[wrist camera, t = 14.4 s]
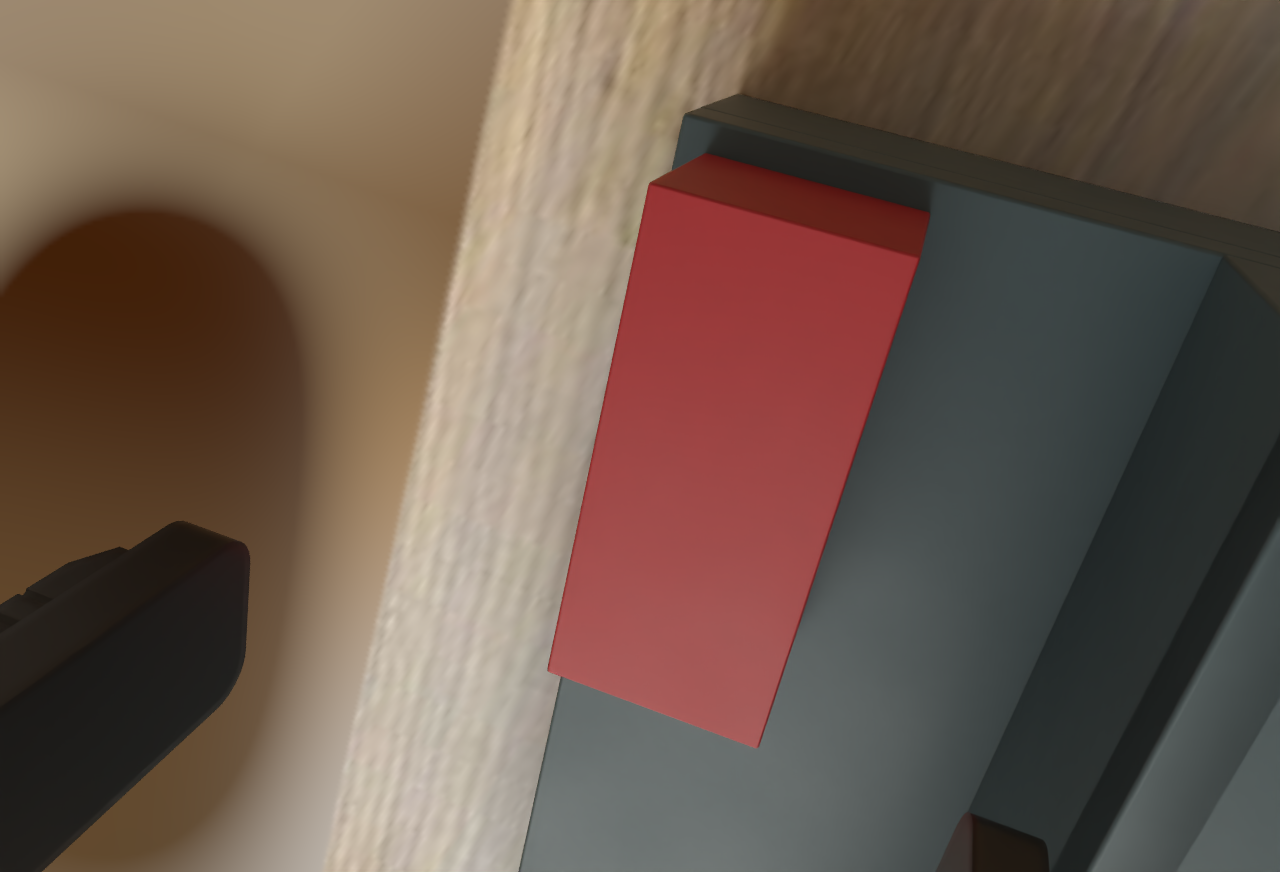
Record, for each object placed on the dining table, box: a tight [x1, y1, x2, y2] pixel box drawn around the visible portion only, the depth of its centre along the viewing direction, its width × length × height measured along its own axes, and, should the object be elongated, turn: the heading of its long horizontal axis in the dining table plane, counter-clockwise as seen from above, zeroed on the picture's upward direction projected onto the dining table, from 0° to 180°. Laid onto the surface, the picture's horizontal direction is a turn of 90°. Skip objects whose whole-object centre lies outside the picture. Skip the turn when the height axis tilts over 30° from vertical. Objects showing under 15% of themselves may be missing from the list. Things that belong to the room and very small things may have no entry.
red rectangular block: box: [548, 153, 930, 748], centre depth 18 cm, size 9×4×4 cm, turn 168°
